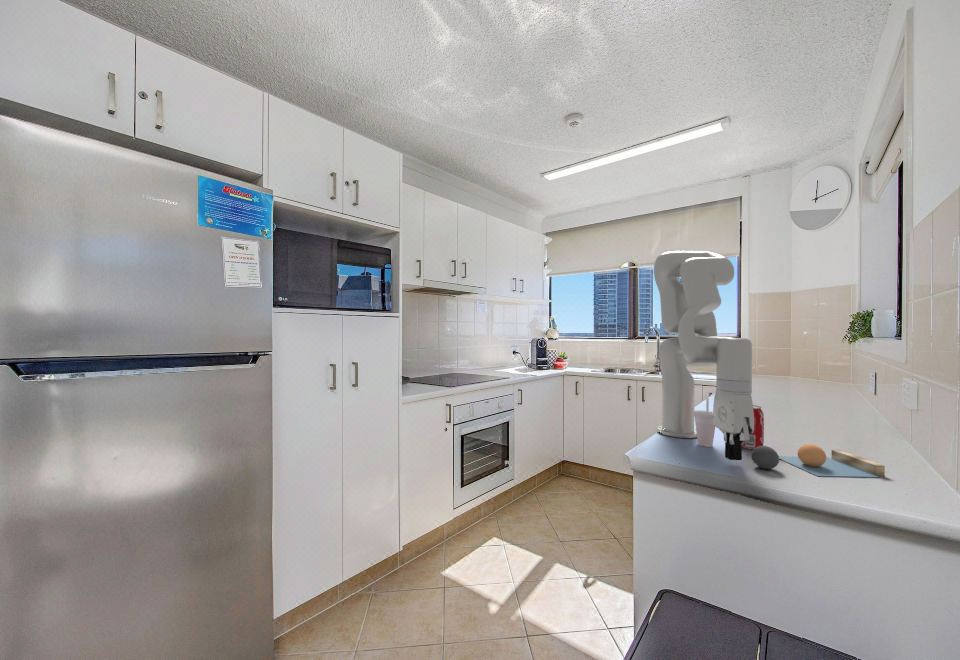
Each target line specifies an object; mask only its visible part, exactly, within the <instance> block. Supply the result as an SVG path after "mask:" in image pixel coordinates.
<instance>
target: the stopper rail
mask: <svg viewBox="0 0 960 660" xmlns="http://www.w3.org/2000/svg"><path fill="white" fill-rule="evenodd" d="M831 458H832V459H834V460H837V461H840V462H842V463H845V464H847V465H850V466H853V467H855V468H858V469H861V470H863V471H866V472H868V473H871V474H874V475H876V476H879V477H885V476H886V475H885V473H886V472H885V468H886V467H885V466H886V465H884V464H881V463H879V462H876V461H872V460H870V459H866V458H863V457H862V456H857V455H855V454H852V453H850V452H846V451H844V450H840V449H831Z"/></svg>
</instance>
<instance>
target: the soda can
mask: <svg viewBox="0 0 960 660" xmlns="http://www.w3.org/2000/svg"><path fill="white" fill-rule="evenodd" d="M753 413H754V430H753V433H752V434H750V435H749V437H750V440H749V441H744V443H743V445H742V447H744V448H743V449H746V448H748V450H753V449H754V448H756V447H758V446H764V442H765V418H764V417H765V414H764V411H763V410H762V407H761V406H759V405H755V404H753Z"/></svg>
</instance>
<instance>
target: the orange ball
mask: <svg viewBox="0 0 960 660" xmlns="http://www.w3.org/2000/svg"><path fill="white" fill-rule="evenodd" d="M797 457H799V459H800V461H801V462H802V463H804V464H805V465H807V466H811V467H819V466H821V465H823V464H824V463H825V461H826V457H827V455H826V452H825V451H824V449H823V448H821V447H820V446H818V445H816V444H811V443H806V444H803V445H800V446H799V447H798V449H797Z"/></svg>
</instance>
